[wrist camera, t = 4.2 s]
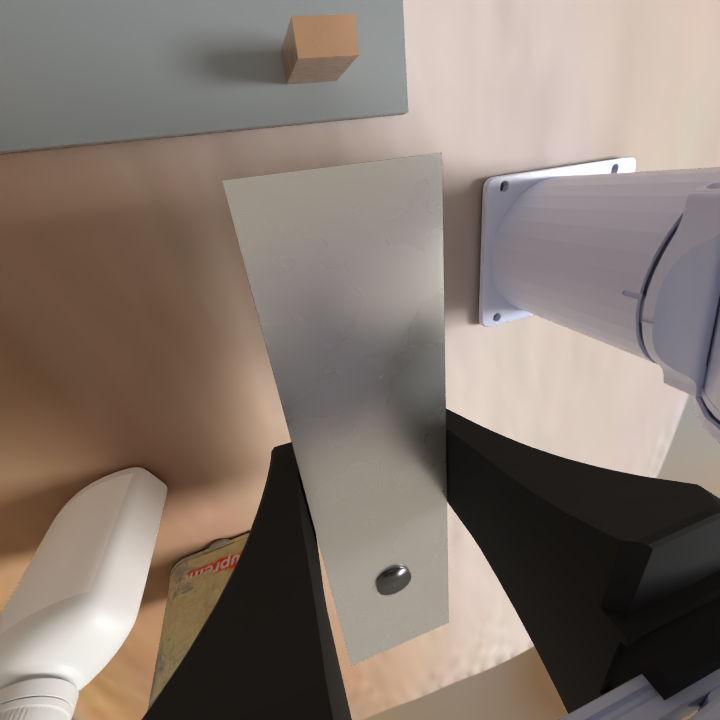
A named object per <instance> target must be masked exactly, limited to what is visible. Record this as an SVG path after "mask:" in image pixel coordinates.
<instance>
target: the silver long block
mask: <svg viewBox="0 0 720 720" xmlns="http://www.w3.org/2000/svg"><path fill="white" fill-rule="evenodd" d="M222 182H223V186H224V190H225V193H226V197H227V201H228V205H229V208H230V212H231V216H232V220H233V224H234V227H235V231H236V235H237V239H238V242H239V246H240V250H241V254H242V257H243V261H244V265H245V269H246V272H247V276H248V280H249V284H250V287H251V291H252V295H253V299H254V302H255V306H256V310H257V314H258V317H259V321H260V325H261V329H262V332H263V336H264V340H265V344H266V348H267V351H268V355H269V359H270V363H271V366H272V370H273V374H274V378H275V381H276V385H277V389H278V393H279V396H280V400H281V404H282V408H283V411H284V415H285V419H286V423H287V426H288V430H289V434H290V438H291V441H292V445H293V449H294V453H295V457H296V460H297V464H298V468H299V472H300V475H301V479H302V483H303V487H304V490H305V494H306V498H307V502H308V505H309V509H310V513H311V517H312V520H313V524H314V528H315V532H316V535H317V539H318V543H319V547H320V550H321V554H322V558H323V562H324V565H325V569H326V573H327V577H328V581H329V584H330V588H331V592H332V596H333V599H334V603H335V607H336V611H337V614H338V618H339V622H340V626H341V629H342V633H343V637H344V641H345V644H346V648H347V652H348V656H349V659H350V663H351V666H352V665H355V664H357V663H359V662H361V661H364V660H366V659H368V658H370V657H373V656H375V655H377V654H379V653H382V652H384V651H386V650H388V649H390V648H393V647H395V646H397V645H399V644H402V643H404V642H406V641H408V640H411V639H413V638H415V637H417V636H420V635H422V634H424V633H426V632H429V631H431V630H433V629H435V628H437V627H440V626H442V625H444V624H446V623H449V608H448V538H447V468H446V398H445V328H444V258H443V188H442V153H435V154H427V155H419V156H411V157H403V158H395V159H387V160H379V161H372V162H364V163H356V164H348V165H340V166H332V167H324V168H316V169H308V170H300V171H293V172H285V173H277V174H269V175H261V176H253V177H245V178H237V179H229V180H222Z"/></svg>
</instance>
